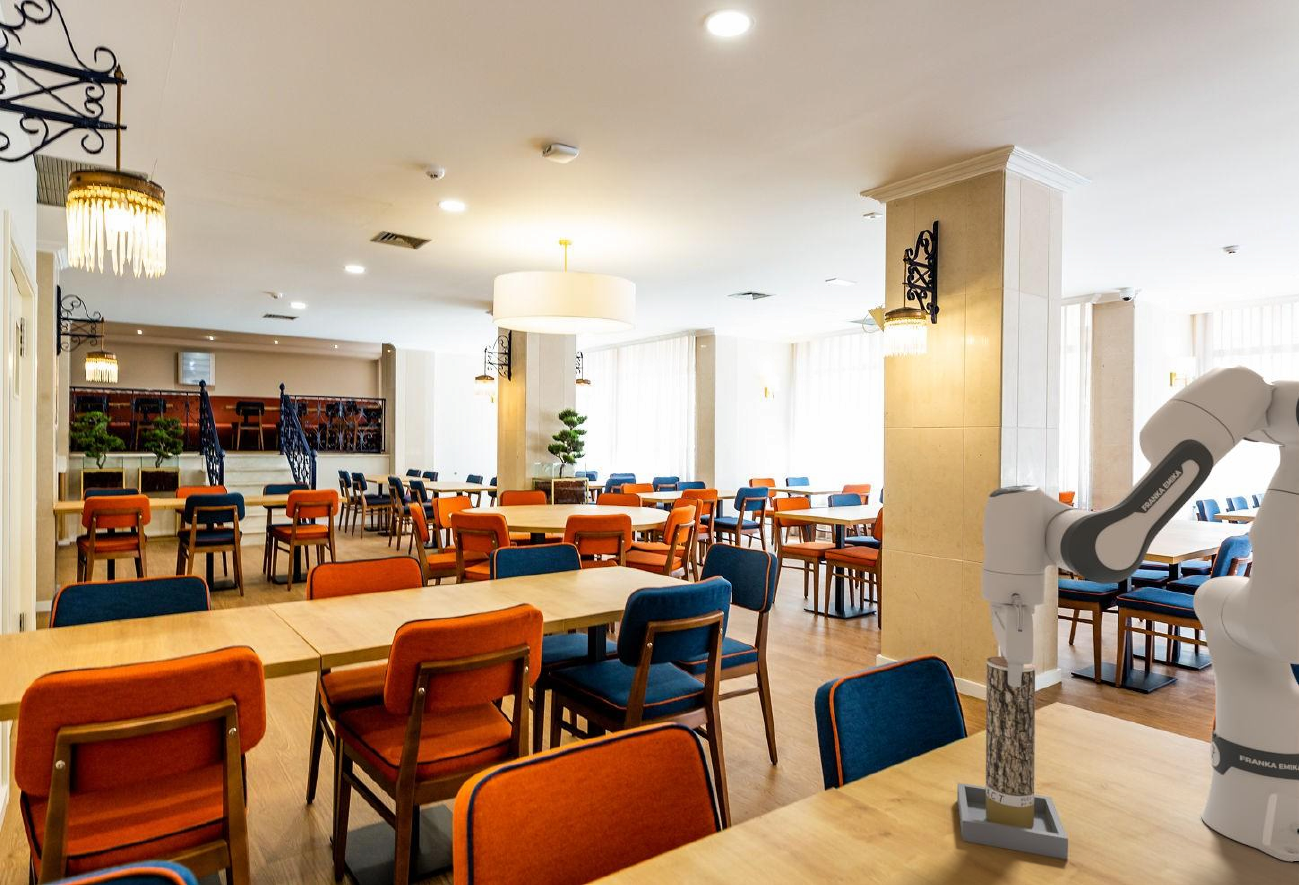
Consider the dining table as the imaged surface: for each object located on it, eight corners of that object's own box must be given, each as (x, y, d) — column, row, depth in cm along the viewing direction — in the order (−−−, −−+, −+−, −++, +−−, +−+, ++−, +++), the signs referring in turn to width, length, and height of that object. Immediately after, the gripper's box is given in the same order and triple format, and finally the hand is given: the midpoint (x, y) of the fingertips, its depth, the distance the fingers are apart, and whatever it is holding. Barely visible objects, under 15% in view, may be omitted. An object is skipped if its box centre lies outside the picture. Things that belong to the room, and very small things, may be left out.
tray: (1050, 816, 121) (1051, 797, 121) (1067, 859, 108) (1067, 838, 108) (957, 800, 126) (957, 782, 126) (962, 840, 112) (962, 820, 113)
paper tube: (1023, 814, 120) (1024, 657, 120) (1041, 836, 113) (1042, 669, 113) (979, 812, 120) (980, 655, 121) (994, 833, 114) (996, 667, 114)
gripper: (1045, 603, 106) (1044, 700, 106) (1025, 581, 126) (1024, 664, 126) (997, 599, 109) (995, 695, 108) (984, 578, 128) (983, 659, 128)
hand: (1010, 678), depth 117 cm, fingers closed on paper tube, 7 cm apart
